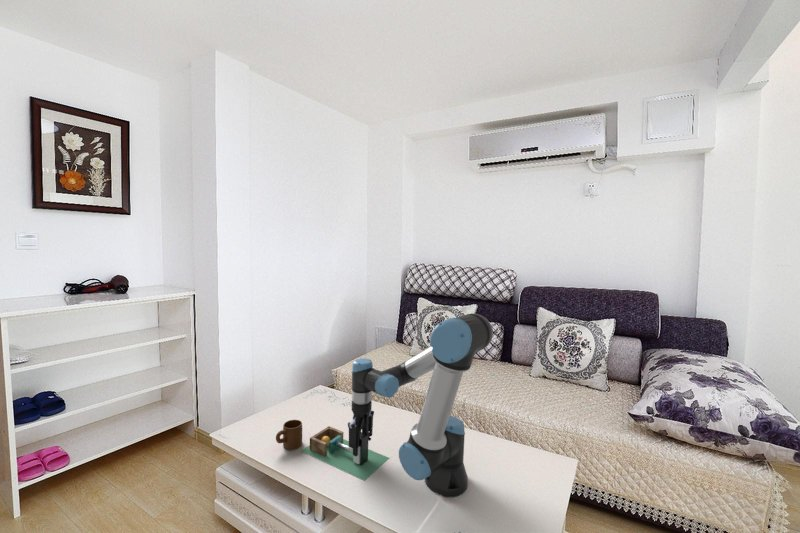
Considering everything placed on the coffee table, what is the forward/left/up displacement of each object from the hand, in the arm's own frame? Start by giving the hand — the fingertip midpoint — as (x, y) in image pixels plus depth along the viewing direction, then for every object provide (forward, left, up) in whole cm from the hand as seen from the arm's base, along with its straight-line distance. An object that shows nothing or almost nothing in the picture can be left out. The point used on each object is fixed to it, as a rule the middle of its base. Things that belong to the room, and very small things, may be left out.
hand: (360, 459), depth 137 cm
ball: (+18, 0, +1) cm, 18 cm away
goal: (+17, 0, -1) cm, 17 cm away
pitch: (+8, 0, -1) cm, 8 cm away
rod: (+6, 0, -1) cm, 6 cm away
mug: (+30, +9, -2) cm, 31 cm away
